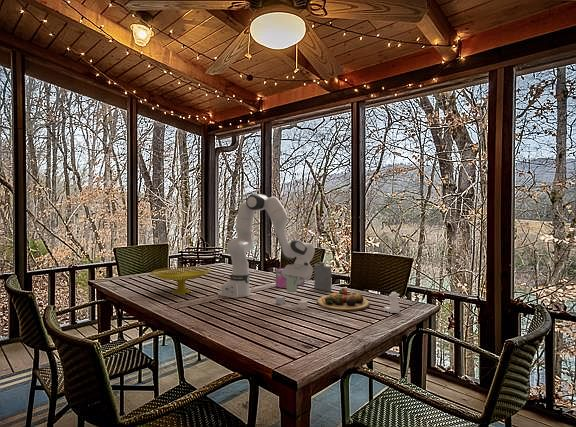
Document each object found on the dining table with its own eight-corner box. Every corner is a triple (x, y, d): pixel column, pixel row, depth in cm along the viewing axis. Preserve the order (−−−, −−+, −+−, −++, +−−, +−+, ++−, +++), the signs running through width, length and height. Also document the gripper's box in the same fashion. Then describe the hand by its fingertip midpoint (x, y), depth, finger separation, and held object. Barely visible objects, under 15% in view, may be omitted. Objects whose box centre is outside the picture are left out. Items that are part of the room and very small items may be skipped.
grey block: (275, 303, 221) (275, 297, 221) (279, 302, 224) (279, 295, 224) (281, 304, 218) (281, 298, 218) (284, 303, 222) (284, 296, 222)
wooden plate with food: (327, 295, 242) (327, 283, 241) (374, 300, 228) (374, 288, 228) (309, 308, 213) (309, 295, 212) (362, 315, 199) (362, 301, 199)
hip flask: (332, 291, 254) (332, 263, 254) (328, 291, 252) (328, 263, 251) (316, 287, 266) (316, 260, 266) (312, 287, 264) (312, 261, 263)
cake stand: (189, 302, 222) (189, 278, 222) (137, 296, 235) (137, 274, 235) (221, 288, 260) (221, 268, 260) (174, 284, 273) (174, 264, 273)
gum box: (300, 282, 283) (300, 265, 283) (306, 284, 277) (306, 266, 277) (275, 286, 269) (275, 268, 269) (281, 288, 263) (281, 269, 262)
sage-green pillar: (286, 291, 216) (286, 277, 216) (290, 290, 220) (291, 276, 220) (292, 292, 213) (292, 278, 213) (296, 291, 217) (297, 277, 217)
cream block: (298, 308, 211) (298, 301, 210) (301, 306, 214) (302, 300, 214) (303, 309, 208) (303, 302, 208) (307, 307, 211) (307, 301, 211)
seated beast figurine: (398, 309, 208) (398, 289, 208) (405, 314, 200) (405, 293, 200) (382, 310, 207) (383, 290, 207) (389, 314, 198) (389, 293, 198)
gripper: (285, 260, 228) (275, 278, 220) (312, 264, 216) (302, 282, 208) (289, 266, 232) (280, 284, 224) (315, 270, 219) (306, 289, 212)
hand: (291, 283), depth 216 cm, fingers closed on sage-green pillar, 4 cm apart
